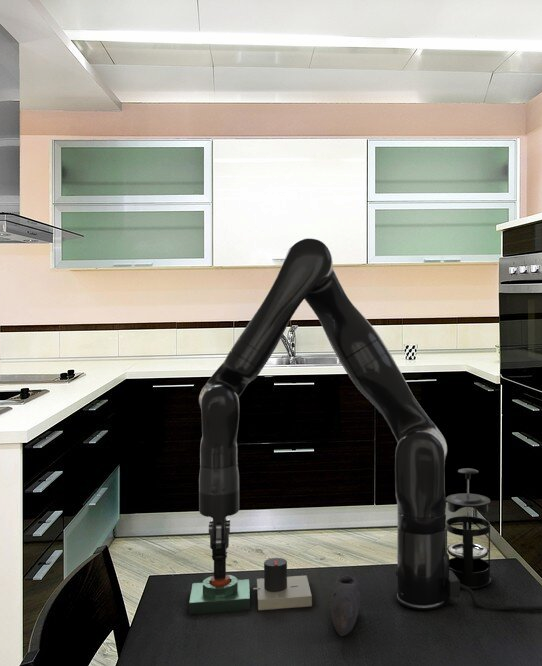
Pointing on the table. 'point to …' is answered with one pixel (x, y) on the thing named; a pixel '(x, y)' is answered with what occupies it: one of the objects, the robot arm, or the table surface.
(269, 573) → the dial
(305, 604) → the control panel
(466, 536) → the french press
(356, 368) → the robot arm
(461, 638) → the table surface
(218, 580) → the button
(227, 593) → the button box
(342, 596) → the perforated stone tool
